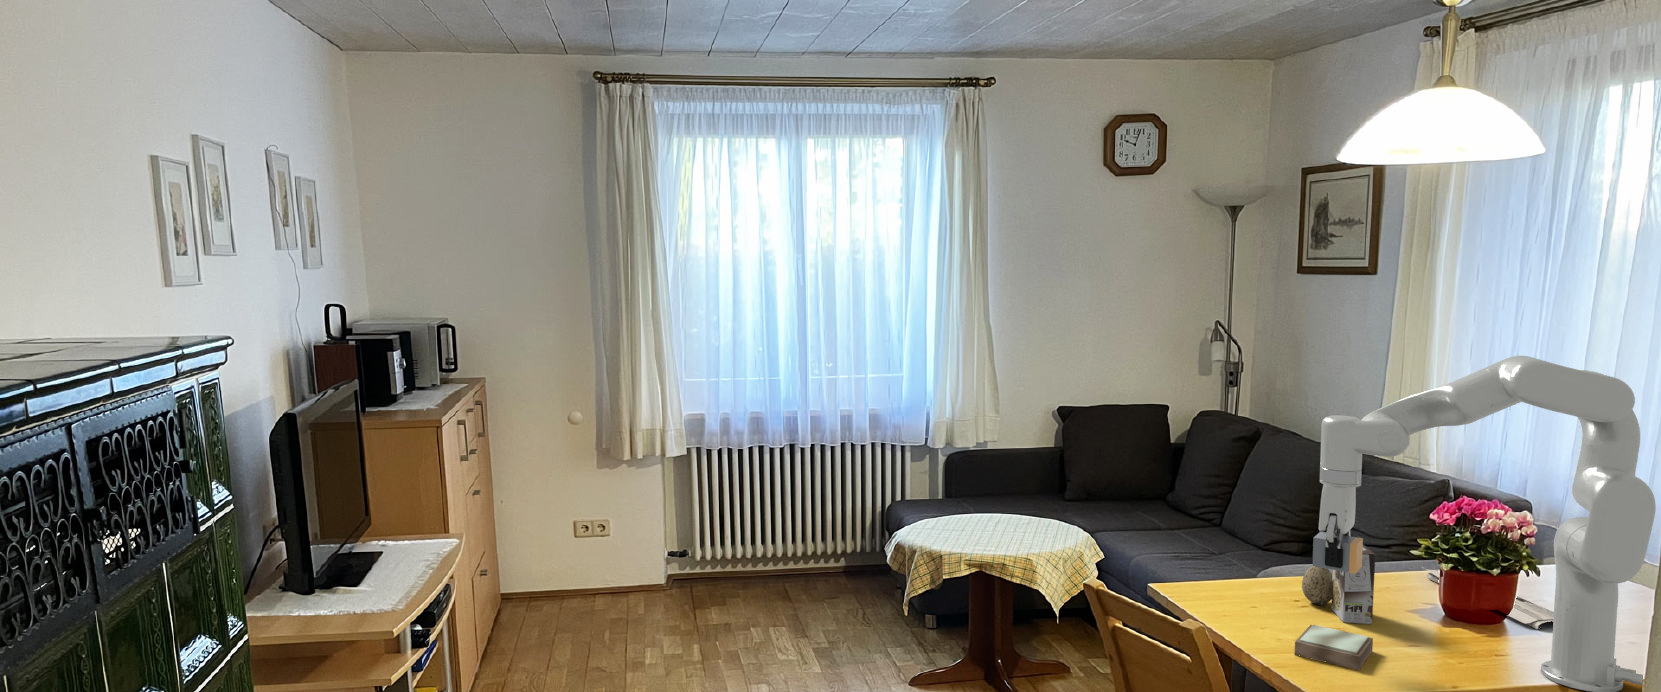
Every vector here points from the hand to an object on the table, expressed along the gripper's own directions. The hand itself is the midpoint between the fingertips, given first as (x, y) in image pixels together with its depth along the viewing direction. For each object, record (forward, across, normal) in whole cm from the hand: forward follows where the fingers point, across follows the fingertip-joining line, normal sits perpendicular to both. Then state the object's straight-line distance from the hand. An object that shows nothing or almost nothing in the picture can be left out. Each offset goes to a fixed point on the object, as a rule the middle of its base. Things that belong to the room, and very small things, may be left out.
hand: (1337, 561), depth 200 cm
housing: (+1, 0, 0) cm, 1 cm away
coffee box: (+20, -25, -2) cm, 32 cm away
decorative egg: (+20, -29, -10) cm, 36 cm away
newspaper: (+20, -56, +21) cm, 63 cm away
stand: (+19, 0, 0) cm, 19 cm away
